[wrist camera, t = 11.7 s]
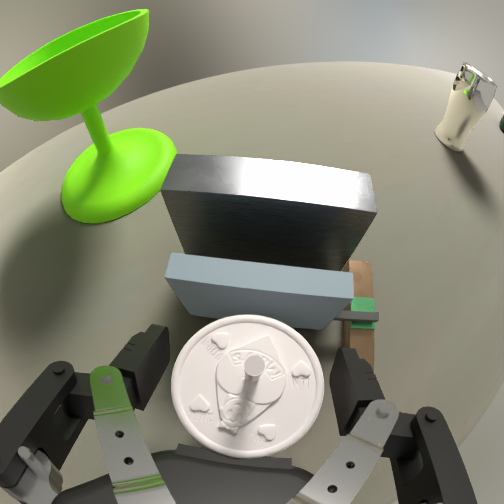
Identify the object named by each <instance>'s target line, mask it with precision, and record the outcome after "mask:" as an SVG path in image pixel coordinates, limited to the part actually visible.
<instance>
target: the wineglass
mask: <svg viewBox="0 0 504 504" xmlns="http://www.w3.org/2000/svg"><path fill="white" fill-rule="evenodd" d="M148 30H149V10H147V9H138V10H133V11H127V12H123V13H120V14H115V15H112V16H109V17H106V18H103V19H100V20H97V21H94V22H92V23H89V24H87V25H84V26H82V27H79V28H77V29H75V30H73V31H71V32H68V33H67V34H64V35H62V36H60V37H59V38H57V39H55V40H53V41H51V42H49V43H48V44H46V45H44V46H43V47H41V48H39V49H38V50H36V51H35V52H33V53H32V54H30V55H29V56H27V57H26V58H25V59H23V60H22V61H20V62H19V63H18V64H17V65H15V66H14V67H13V68H12V69H10V70H9V71H8V72H7V73H6V74H5V75H4V76H2V77H1V78H0V104H1V105H2V106H4V107H5V108H7V109H8V110H10V111H11V112H13V113H14V114H16V115H17V116H18V117H22V118H25V119H30V120H33V121H49V120H61V119H65V118H68V117H71V116H73V115H76V114H78V113H81V115H82V117H83V119H84V122H85V124H86V126H87V129H88V131H89V133H90V135H91V138H92V140H93V142H94V144H92V145H91V146H90V147H89V148H87V149H86V150H85V151H84V152H83V153H81V155H80V156H79V157H78V158H77V159H76V160H75V161H74V163H73V164H72V165H71V167H70V169H69V170H68V172H67V174H66V176H65V179H64V182H63V185H62V193H61V200H62V203H63V206H64V209H65V212H66V213H67V214H68V215H69V216H70V217H71V218H72V219H75V220H77V221H80V222H82V223H102V222H106V221H111V220H115V219H117V218H120V217H122V216H124V215H126V214H129V213H131V212H133V211H134V210H136V209H137V208H139V207H140V206H142V205H143V204H145V203H146V202H148V201H149V200H150V199H151V198H152V197H154V196H155V195H156V194H157V193H158V192H159V191H160V189H161V187H162V184H163V182H164V180H165V177H166V175H167V173H168V170H169V168H170V166H171V164H172V162H173V159H174V157H175V155H176V154H177V151H176V149H175V146H174V144H173V142H172V141H171V140H170V139H169V138H168V137H167V136H166V135H164V134H163V133H161V132H158V131H156V130H153V129H146V128H134V129H127V130H123V131H119V132H115V133H113V134H111V135H108V132H107V130H106V127H105V125H104V122H103V119H102V117H101V114H100V112H99V109H98V106H97V103H99V102H100V101H102V100H103V99H105V98H106V97H107V96H109V95H110V94H111V93H112V92H114V91H115V89H116V88H117V87H118V86H119V85H120V84H121V83H122V82H123V80H124V79H125V78H126V77H127V76H128V75H129V74H130V73H131V71H132V69H133V67H134V65H135V63H136V61H137V60H138V58H139V56H140V54H141V52H142V50H143V48H144V45H145V41H146V37H147V34H148Z"/></svg>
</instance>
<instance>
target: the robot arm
mask: <svg viewBox="0 0 504 504" xmlns="http://www.w3.org/2000/svg"><path fill="white" fill-rule="evenodd" d="M169 360H170V345H169V331H168V328H167V327H164V326H159V325H155V324H152V325H151V326H150V327H149V328H148V330H147V331H146V332H145V333H144V332H140V333H138V334H136V335H134V336H133V337H132V338H131V339H130V340H129V341H128V343H127V344H126V345H125V346H124V348H123V349H122V350H121V351H120V352H119V354H118V355H117V356H116V357H115V359H114V360H113V361H112V362H111V364H110V365H109V366H100V367H98V368H96V369H94V370H93V371H92V372H91V374H88V373H78V372H75V371H74V369H73V366H72V365H71V364H70V363H68V362H65V361H57V362H54V363H52V364H50V365H49V366H48V367H47V368H46V369H45V370H44V371H43V372H42V373H41V375H40V376H39V377H38V378H37V379H36V380H35V381H34V383H33V384H32V385H31V386H30V387H29V388H28V390H27V391H26V392H25V393H24V394H23V395H22V397H21V398H20V399H19V400H18V401H17V403H16V404H15V405H14V406H13V408H12V409H11V410H10V411H9V413H8V414H7V415H6V416H5V418H4V419H3V420H2V421H1V423H0V487H1V488H2V489H3V490H4V491H5V492H7V493H8V494H9V495H10V496H11V497H13V498H14V499H16V500H18V501H19V502H20V503H21V504H350V503H351V501H352V500H353V499H354V497H355V496H356V494H357V493H358V491H359V490H360V488H361V487H362V485H363V484H364V482H365V481H366V479H367V478H368V476H369V474H370V473H371V471H372V469H373V468H374V466H375V464H376V463H377V461H378V459H379V457H387V458H390V461H391V466H392V471H393V475H394V480H395V486H396V491H397V496H398V502H399V504H477V501H476V498H475V494H474V491H473V488H472V486H471V482H470V480H469V477H468V474H467V471H466V469H465V466H464V463H463V461H462V458H461V456H460V453H459V451H458V448H457V446H456V443H455V441H454V439H453V436H452V434H451V432H450V430H449V427H448V425H447V423H446V421H445V419H444V416H443V415H442V413H441V412H440V411H439V410H437V409H436V408H433V407H423V408H421V409H419V410H418V412H417V413H416V415H414V414H407V413H401V412H399V410H398V408H397V407H396V405H394V404H393V403H392V402H390V401H387V400H385V398H384V395H383V393H382V390H381V388H380V386H379V383H378V381H377V380H376V379H377V378H376V376H375V374H374V371H373V369H372V367H371V365H370V364H369V363H368V362H367V361H366V360H365V359H359V356H358V354H357V351H356V349H355V348H339V349H338V351H337V354H336V357H335V361H334V364H333V367H332V370H331V373H330V388H331V393H332V398H333V403H334V408H335V413H336V418H337V423H338V428H339V434H340V436H346V437H345V438H344V440H343V441H342V442H341V443H340V445H339V446H338V447H337V449H336V450H335V451H334V453H333V454H332V455H331V456H330V458H329V459H328V460H327V461H326V462H325V464H324V465H323V466H322V467H321V468H320V469H319V471H318V472H317V473H316V474H315V475H313V474H311V473H310V472H308V471H306V470H304V469H301V468H298V467H295V466H292V462H291V458H271V457H259V458H249V459H230V458H227V457H225V456H222V455H219V454H216V453H214V452H211V451H209V450H206V449H202V448H197V447H192V446H187V445H183V444H178V447H177V450H166V451H160V452H156V453H152V454H150V451H149V449H148V447H147V444H146V442H145V440H144V437H143V435H142V432H141V430H140V427H139V424H138V422H137V419H136V416H135V414H134V409H135V408H136V409H140V410H143V411H144V409H145V407H146V405H147V403H148V401H149V399H150V397H151V396H152V394H153V392H154V390H155V388H156V386H157V384H158V382H159V380H160V379H161V377H162V375H163V373H164V371H165V369H166V367H167V366H168V363H169ZM59 406H60V407H59ZM58 407H59V408H58ZM57 409H58V410H57ZM56 410H57V411H56ZM54 413H55V414H54ZM88 419H94V420H95V424H96V428H97V433H98V437H99V441H100V445H101V449H102V452H103V456H104V459H105V463H106V466H107V469H108V472H109V473H108V474H106V475H104V476H101V477H99V478H96V479H94V480H91V481H89V482H86V483H84V484H81V485H78V486H75V487H72V488H70V489H67V490H64V491H62V492H61V490H62V483H63V478H62V475H61V473H60V469H61V467H62V465H63V463H64V461H65V459H66V458H67V456H68V454H69V452H70V450H71V449H72V447H73V445H74V443H75V441H76V440H77V438H78V436H79V434H80V433H81V431H82V429H83V427H84V426H85V424H86V422H87V420H88Z"/></svg>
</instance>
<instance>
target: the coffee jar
mask: <svg viewBox="0 0 504 504" xmlns="http://www.w3.org/2000/svg"><path fill="white" fill-rule="evenodd" d="M500 128H501V129H502V130H503V131H504V116H503V117H502V119H501V121H500Z"/></svg>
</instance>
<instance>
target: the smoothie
mask: <svg viewBox="0 0 504 504" xmlns="http://www.w3.org/2000/svg"><path fill="white" fill-rule="evenodd" d="M171 393H172V400H173V404H174V407H175V410H176V413H177V415H178V417H179V419H180V421H181V422H182V424H183V425H184V427H185V428H186V429H187V431H188V432H189V433H190V434H191V435H192V436H193V437H194V438H195V439H196V440H197V441H199V442H200V443H201V444H203V445H204V446H206V447H207V448H209V449H211V450H213V451H215V452H217V453H220V454H223V455H226V456H231V457H236V458H259V457H265V456H269V455H273V454H275V453H278V452H280V451H283V450H285V449H286V448H288V447H290V446H291V445H293V444H294V443H296V442H297V441H298V440H299V439H300V438H302V437H303V436H304V435H305V434H306V432H307V431H308V430H309V429H310V427H311V426H312V425H313V423H314V421H315V420H316V418H317V416H318V414H319V411H320V408H321V405H322V401H323V395H324V378H323V372H322V368H321V365H320V362H319V360H318V358H317V356H316V354H315V352H314V350H313V349H312V347H311V346H310V344H309V343H308V342H307V341H306V340H305V339H304V338H303V337H302V336H301V335H300V334H299V333H298V332H297V331H295V330H294V329H293V328H291V327H290V326H288V325H286V324H284V323H282V322H280V321H278V320H275V319H272V318H269V317H265V316H259V315H235V316H230V317H226V318H222V319H219V320H217V321H215V322H212V323H210V324H209V325H207V326H205V327H204V328H202V329H201V330H199V331H198V332H197V333H196V334H194V335H193V336H192V337H191V338H190V339H189V341H188V342H187V343H186V344H185V345H184V347H183V348H182V350H181V352H180V353H179V355H178V357H177V360H176V362H175V365H174V368H173V372H172V379H171Z"/></svg>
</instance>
